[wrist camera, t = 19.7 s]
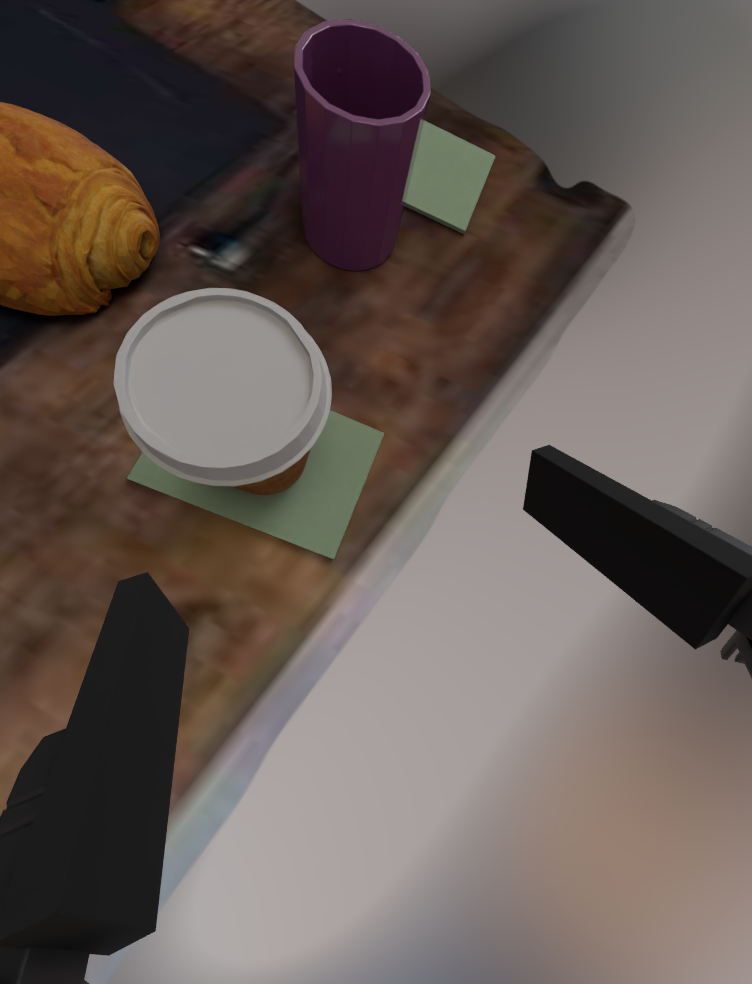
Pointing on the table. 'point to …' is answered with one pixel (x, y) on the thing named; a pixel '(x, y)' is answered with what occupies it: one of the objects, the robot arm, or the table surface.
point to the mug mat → (447, 178)
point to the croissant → (66, 218)
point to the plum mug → (356, 137)
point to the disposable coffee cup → (223, 390)
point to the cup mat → (290, 489)
